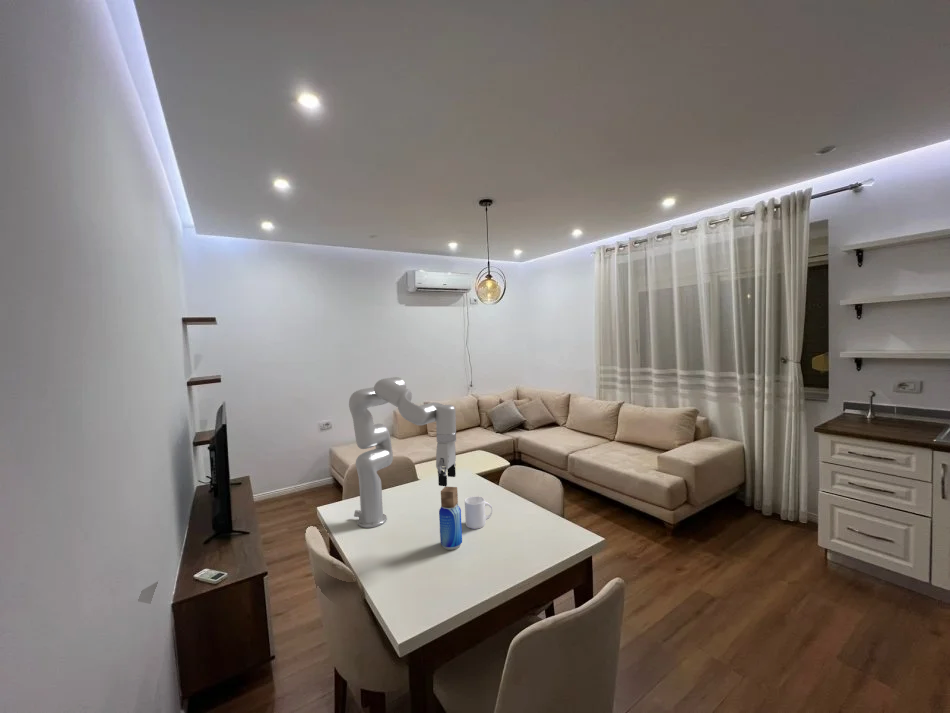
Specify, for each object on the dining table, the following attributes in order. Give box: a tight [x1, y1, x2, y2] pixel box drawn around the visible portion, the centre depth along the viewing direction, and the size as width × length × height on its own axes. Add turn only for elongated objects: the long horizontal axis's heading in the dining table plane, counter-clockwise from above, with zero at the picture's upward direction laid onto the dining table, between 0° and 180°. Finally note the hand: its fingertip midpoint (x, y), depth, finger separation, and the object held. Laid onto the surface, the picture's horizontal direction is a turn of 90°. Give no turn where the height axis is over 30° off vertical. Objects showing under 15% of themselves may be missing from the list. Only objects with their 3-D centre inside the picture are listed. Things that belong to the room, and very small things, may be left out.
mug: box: [464, 495, 493, 530], centre depth 166 cm, size 9×12×11 cm
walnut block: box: [440, 486, 459, 508], centre depth 149 cm, size 5×5×6 cm
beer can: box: [438, 502, 463, 551], centre depth 149 cm, size 8×8×16 cm
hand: (447, 481), depth 149 cm, fingers open, 9 cm apart
